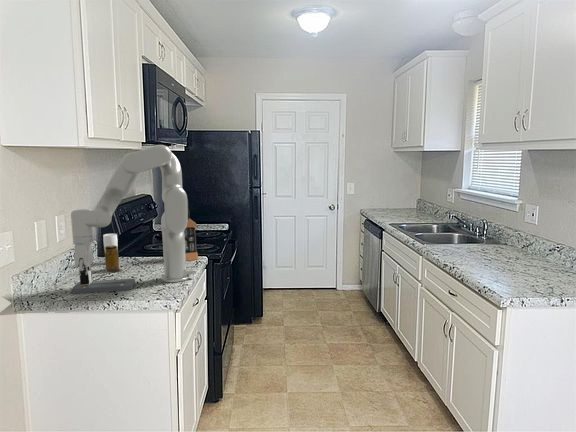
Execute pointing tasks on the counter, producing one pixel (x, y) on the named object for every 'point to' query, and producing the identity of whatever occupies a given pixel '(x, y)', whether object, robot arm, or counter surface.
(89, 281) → the fader knob
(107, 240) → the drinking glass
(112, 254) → the condiment
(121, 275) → the counter surface
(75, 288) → the fader panel
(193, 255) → the whiskey bottle
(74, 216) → the robot arm
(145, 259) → the counter surface
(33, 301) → the counter surface
